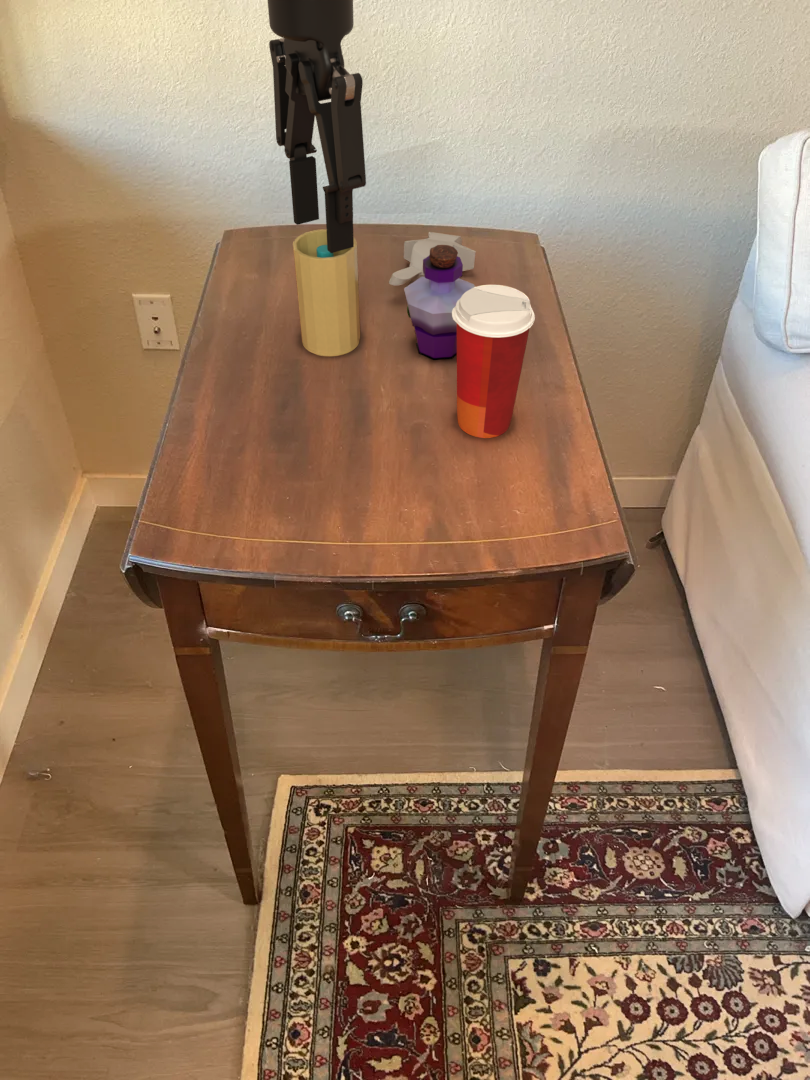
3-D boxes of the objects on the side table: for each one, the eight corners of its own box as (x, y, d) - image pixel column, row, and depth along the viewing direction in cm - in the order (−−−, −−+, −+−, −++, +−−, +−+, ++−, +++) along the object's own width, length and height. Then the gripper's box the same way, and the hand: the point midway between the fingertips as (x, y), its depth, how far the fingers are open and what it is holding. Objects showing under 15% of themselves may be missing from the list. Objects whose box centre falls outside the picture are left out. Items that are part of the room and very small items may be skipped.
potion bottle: (412, 322, 101) (414, 227, 93) (482, 332, 100) (490, 237, 91) (393, 361, 95) (393, 264, 87) (467, 373, 94) (475, 275, 85)
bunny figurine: (484, 229, 109) (458, 271, 98) (480, 267, 113) (454, 312, 102) (414, 219, 111) (381, 259, 100) (413, 257, 114) (380, 300, 103)
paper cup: (520, 401, 90) (536, 283, 80) (520, 447, 85) (536, 327, 75) (448, 397, 91) (454, 279, 81) (443, 442, 86) (450, 321, 75)
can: (319, 362, 95) (311, 265, 86) (292, 335, 99) (282, 238, 90) (370, 345, 98) (368, 248, 89) (341, 318, 102) (336, 223, 93)
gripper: (407, 1, 68) (402, 264, 85) (294, -48, 80) (310, 192, 96) (326, 13, 65) (338, 283, 82) (222, -39, 77) (250, 207, 93)
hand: (323, 233), depth 89 cm, fingers open, 7 cm apart
